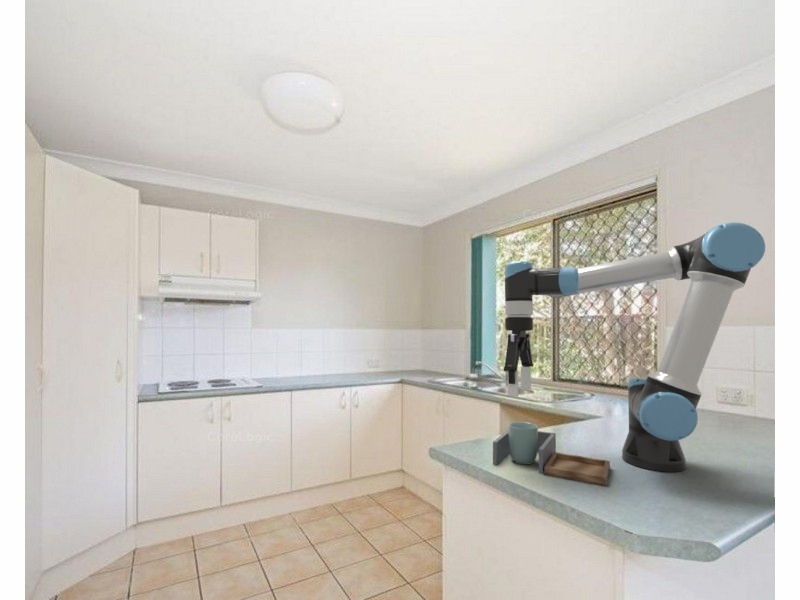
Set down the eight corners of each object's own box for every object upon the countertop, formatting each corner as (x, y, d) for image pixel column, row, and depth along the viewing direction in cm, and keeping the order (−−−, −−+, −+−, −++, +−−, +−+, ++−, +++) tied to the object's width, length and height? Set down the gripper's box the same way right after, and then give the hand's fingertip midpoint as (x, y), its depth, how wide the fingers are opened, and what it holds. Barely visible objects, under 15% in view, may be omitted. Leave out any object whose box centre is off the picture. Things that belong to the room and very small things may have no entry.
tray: (609, 468, 111) (609, 460, 111) (606, 486, 98) (605, 477, 99) (554, 459, 118) (554, 452, 118) (544, 474, 105) (544, 466, 106)
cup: (539, 467, 110) (539, 429, 111) (509, 465, 112) (509, 427, 112) (536, 458, 118) (536, 422, 119) (507, 456, 120) (507, 421, 120)
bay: (555, 454, 122) (555, 433, 122) (542, 473, 106) (542, 449, 106) (511, 446, 129) (511, 427, 129) (492, 464, 113) (492, 441, 113)
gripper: (517, 317, 131) (518, 385, 130) (491, 315, 109) (492, 397, 108) (542, 317, 127) (543, 387, 126) (520, 315, 105) (521, 400, 104)
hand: (519, 392), depth 117 cm, fingers open, 13 cm apart
